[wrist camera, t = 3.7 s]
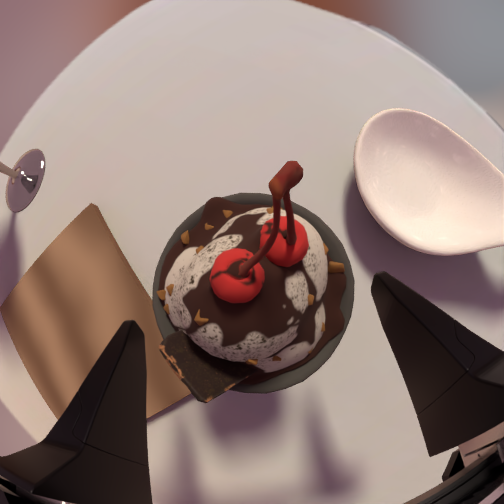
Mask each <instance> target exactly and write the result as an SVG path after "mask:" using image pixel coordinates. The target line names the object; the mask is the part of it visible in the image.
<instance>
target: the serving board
mask: <svg viewBox="0 0 504 504" xmlns="http://www.w3.org/2000/svg"><path fill="white" fill-rule="evenodd" d="M152 303H153V301H152V300H151V298H150V296H149V295H148V293H147V292H146V290H145V289H144V287H143V286H142V284H141V282H140V281H139V279H138V278H137V276H136V274H135V273H134V271H133V270H132V268H131V266H130V265H129V263H128V261H127V260H126V258H125V256H124V254H123V253H122V251H121V249H120V247H119V246H118V244H117V242H116V240H115V239H114V237H113V235H112V233H111V231H110V229H109V228H108V226H107V224H106V222H105V220H104V218H103V216H102V214H101V212H100V210H99V208H98V206H96V205H94V204H92V203H91V204H90V205H89V206H87V207H86V208H85V209H84V210H83V211H82V212H81V213H80V214H79V215H78V216H77V217H76V218H75V219H74V220H73V221H72V222H71V223H70V224H69V225H68V226H67V227H66V228H65V229H64V230H63V231H62V232H61V233H60V234H59V235H58V236H57V238H56V239H55V240H54V241H53V242H52V243H51V244H50V245H49V246H48V247H47V248H46V250H45V251H44V252H43V253H42V254H41V255H40V256H39V258H38V259H37V260H36V261H35V262H34V263H33V265H32V266H31V267H30V268H29V270H28V271H27V272H26V273H25V275H24V276H23V277H22V278H21V280H20V281H19V282H18V283H17V285H16V286H15V287H14V289H13V290H12V291H11V293H10V294H9V296H8V297H7V298H6V300H5V301H4V303H3V304H2V306H1V307H0V311H1V314H2V317H3V319H4V322H5V324H6V327H7V329H8V332H9V334H10V336H11V339H12V341H13V343H14V345H15V347H16V350H17V352H18V354H19V356H20V358H21V360H22V362H23V364H24V366H25V368H26V369H27V371H28V373H29V375H30V377H31V378H32V380H33V382H34V384H35V385H36V387H37V389H38V390H39V392H40V394H41V395H42V397H43V399H44V400H45V402H46V403H47V405H48V406H49V408H50V409H51V411H52V412H53V414H54V415H55V417H56V418H57V419H58V420H59V418H60V417H61V415H62V414H63V412H64V411H65V410H66V408H67V407H68V405H69V403H70V402H71V400H72V399H73V397H74V396H75V394H76V392H77V391H78V389H79V388H80V386H81V384H82V383H83V381H84V380H85V378H86V376H87V375H88V373H89V372H90V370H91V369H92V367H93V366H94V364H95V362H96V361H97V359H98V358H99V356H100V355H101V353H102V352H103V350H104V349H105V347H106V346H107V345H108V343H109V342H110V340H111V339H112V337H113V336H114V334H115V333H116V331H117V330H118V329H119V327H120V326H121V324H122V323H123V322H124V321H125V320H135V321H136V322H137V324H138V325H139V327H140V328H141V329H142V331H143V332H144V335H145V350H146V365H147V395H146V416H147V418H149V417H151V416H152V415H154V414H156V413H158V412H160V411H161V410H163V409H165V408H167V407H169V406H170V405H172V404H174V403H175V402H177V401H179V400H181V399H182V398H184V397H186V396H187V395H189V394H191V392H190V390H189V389H188V387H187V386H186V385H185V384H184V383H183V382H182V381H181V380H180V379H179V378H178V377H177V375H176V374H175V373H174V372H173V370H172V369H171V368H170V366H169V365H168V363H167V362H166V360H165V358H164V357H163V355H162V354H161V352H160V350H159V345H160V344H161V342H162V341H163V338H162V335H161V333H160V330H159V328H158V326H157V322H156V318H155V314H154V310H153V306H152Z"/></svg>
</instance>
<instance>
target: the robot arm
mask: <svg viewBox="0 0 504 504" xmlns="http://www.w3.org/2000/svg"><path fill="white" fill-rule="evenodd" d="M371 294H372V297H373V300H374V303H375V306H376V309H377V312H378V315H379V318H380V321H381V324H382V327H383V329H384V332H385V334H386V337H387V339H388V341H389V344H390V346H391V348H392V351H393V353H394V355H395V358H396V360H397V363H398V365H399V368H400V370H401V373H402V375H403V378H404V381H405V383H406V386H407V389H408V391H409V394H410V397H411V400H412V403H413V405H414V408H415V411H416V414H417V418H418V421H419V424H420V427H421V430H422V433H423V436H424V440H425V443H426V447H427V450H428V454H429V456H430V457H431V456H434V455H437V454H439V453H442V452H444V451H447V450H449V449H451V448H454V447H456V446H458V447H459V449H457V450H456V451H454V452H453V453H452V455H451V457H450V460H449V462H448V464H447V467H446V469H445V471H444V473H443V475H442V480H443V483H441V484H439V485H438V486H436V487H434V488H432V489H431V490H429V491H427V492H425V493H423V494H422V495H420V496H418V497H416V498H414V499H412V500H410V501H408V502H406V503H404V504H504V351H502V350H500V349H498V348H497V347H495V346H494V345H492V344H490V343H489V342H487V341H486V340H484V339H482V338H481V337H479V336H478V335H476V334H475V333H473V332H472V331H470V330H469V329H467V328H466V327H465V326H463V325H462V324H460V323H459V322H458V321H456V320H454V319H453V318H452V317H451V316H449V315H448V314H447V313H445V312H444V311H442V310H441V309H440V308H438V307H437V306H435V305H434V304H433V303H431V302H430V301H428V300H427V299H425V298H424V297H423V296H421V295H420V294H418V293H417V292H415V291H414V290H412V289H411V288H409V287H408V286H406V285H405V284H404V283H402V282H401V281H399V280H398V279H396V278H395V277H393V276H391V275H390V274H388V273H387V272H385V271H383V272H379V273H376V274H375V275H374V278H373V282H372V286H371ZM146 395H147V365H146V350H145V335H144V332H143V331H142V329H141V328H140V327H139V325H138V324H137V322H136V321H135V320H125V321H124V322H123V323H122V324H121V326H120V327H119V329H118V330H117V331H116V333H115V334H114V336H113V337H112V339H111V340H110V342H109V343H108V345H107V346H106V347H105V349H104V350H103V352H102V353H101V355H100V356H99V358H98V359H97V361H96V362H95V364H94V366H93V367H92V369H91V370H90V372H89V373H88V375H87V376H86V378H85V380H84V381H83V383H82V384H81V386H80V388H79V389H78V391H77V392H76V394H75V396H74V397H73V399H72V400H71V402H70V403H69V405H68V407H67V408H66V410H65V411H64V412H63V414H62V415H61V417H60V418H59V420H58V421H57V422H56V424H55V425H54V427H53V428H52V429H51V431H50V432H49V434H48V435H47V436H46V438H45V439H44V440H42V441H41V442H40V443H38V444H36V445H34V446H31V447H29V448H26V449H24V450H21V451H19V452H16V453H13V454H11V455H8V456H3V457H1V456H0V475H1V476H0V504H153V503H152V495H151V486H150V475H149V464H148V448H147V416H146Z"/></svg>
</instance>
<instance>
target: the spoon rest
mask: <svg viewBox="0 0 504 504" xmlns="http://www.w3.org/2000/svg"><path fill="white" fill-rule="evenodd" d="M354 171H355V178H356V182H357V186H358V189H359V192H360V195H361V197H362V199H363V201H364V203H365V205H366V207H367V209H368V210H369V212H370V213H371V215H372V216H373V217H374V219H375V220H376V221H377V222H378V224H379V225H380V226H381V227H382V228H383V229H384V230H385V231H386V232H387V233H389V234H390V235H391V236H392V237H394V238H395V239H396V240H398V241H399V242H400V243H402V244H404V245H405V246H407V247H409V248H411V249H414V250H416V251H419V252H422V253H426V254H432V255H440V256H451V255H462V254H467V253H473V252H478V251H482V250H486V249H490V248H495V247H500V246H504V175H503V174H502V173H501V172H500V171H499V170H498V169H497V168H496V167H495V166H494V165H493V164H492V163H491V162H490V161H489V160H488V159H487V158H485V157H484V156H483V155H482V154H481V153H480V152H479V151H478V150H476V149H475V148H474V147H473V146H472V145H470V144H469V143H468V142H467V141H466V140H465V139H463V138H462V137H461V136H459V135H458V134H457V133H455V132H454V131H452V130H451V129H450V128H449V127H447V126H446V125H444V124H443V123H441V122H439V121H438V120H436V119H434V118H432V117H430V116H428V115H426V114H424V113H421V112H418V111H414V110H409V109H402V108H393V109H388V110H384V111H382V112H379V113H377V114H375V115H374V116H372V117H371V118H370V119H369V120H368V121H367V122H366V123H365V125H364V126H363V128H362V129H361V131H360V133H359V136H358V138H357V141H356V145H355V150H354Z"/></svg>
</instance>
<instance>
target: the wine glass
mask: <svg viewBox="0 0 504 504" xmlns="http://www.w3.org/2000/svg"><path fill="white" fill-rule="evenodd" d="M44 170H45V157H44V154H43V153H42V151H41V150H39V149H32V150H29V151H27V152H26V153H25V154H23V155H22V156H21V157H20V158H19V160H18V161H17V162H16V164H15V165H14V167H13V169H11V168H9V167H7V166H6V165H4V164H3V163H2V162H0V172H1V173H3V174H6V175H8V176H9V178H8V182H7V186H6V203H7V205H8V207H9V209H10V210H11V211H13V212H19V211H21V210H23V209H24V208H26V207H27V206H28V205H29V204H30V202H31V201H32V200H33V198H34V197H35V195H36V193H37V191H38V189H39V187H40V185H41V182H42V179H43V175H44Z"/></svg>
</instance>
